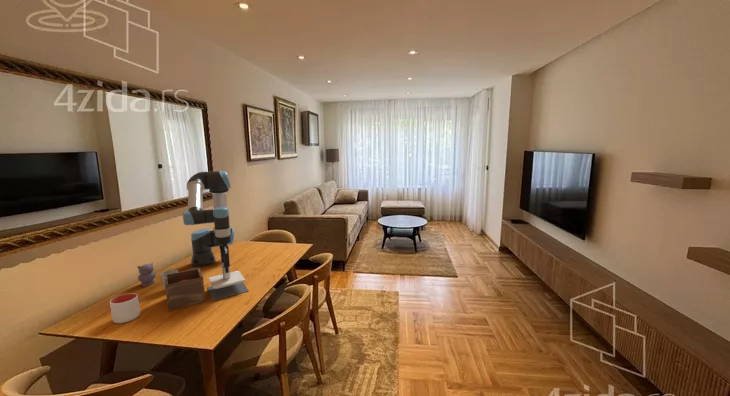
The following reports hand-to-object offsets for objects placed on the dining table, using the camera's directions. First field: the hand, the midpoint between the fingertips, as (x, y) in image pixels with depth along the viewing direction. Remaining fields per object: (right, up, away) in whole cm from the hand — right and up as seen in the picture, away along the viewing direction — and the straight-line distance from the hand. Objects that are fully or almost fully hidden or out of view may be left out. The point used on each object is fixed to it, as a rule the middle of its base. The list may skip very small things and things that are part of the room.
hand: (226, 276), depth 163 cm
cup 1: (-34, -12, -27) cm, 45 cm away
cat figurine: (-51, -7, +10) cm, 52 cm away
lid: (0, -3, 0) cm, 3 cm away
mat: (0, -7, +1) cm, 8 cm away
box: (-16, -9, -10) cm, 21 cm away
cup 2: (-32, -8, +2) cm, 33 cm away
